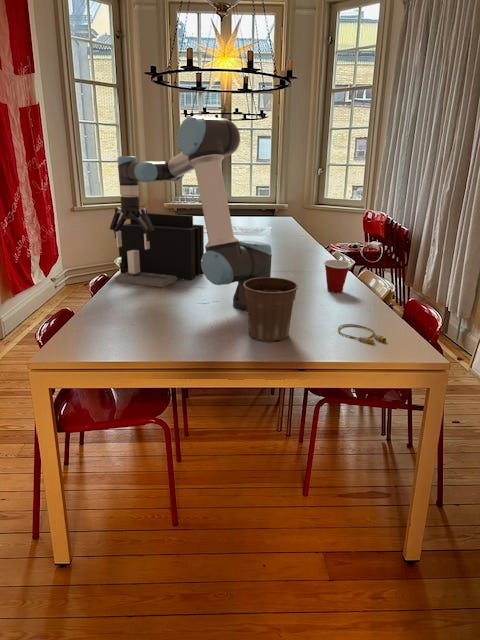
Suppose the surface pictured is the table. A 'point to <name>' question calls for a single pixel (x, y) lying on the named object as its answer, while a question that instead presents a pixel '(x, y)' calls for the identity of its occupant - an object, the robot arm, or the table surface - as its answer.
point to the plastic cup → (336, 274)
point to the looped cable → (364, 339)
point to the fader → (133, 262)
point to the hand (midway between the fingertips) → (133, 247)
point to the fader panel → (146, 279)
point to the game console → (165, 246)
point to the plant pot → (269, 307)
